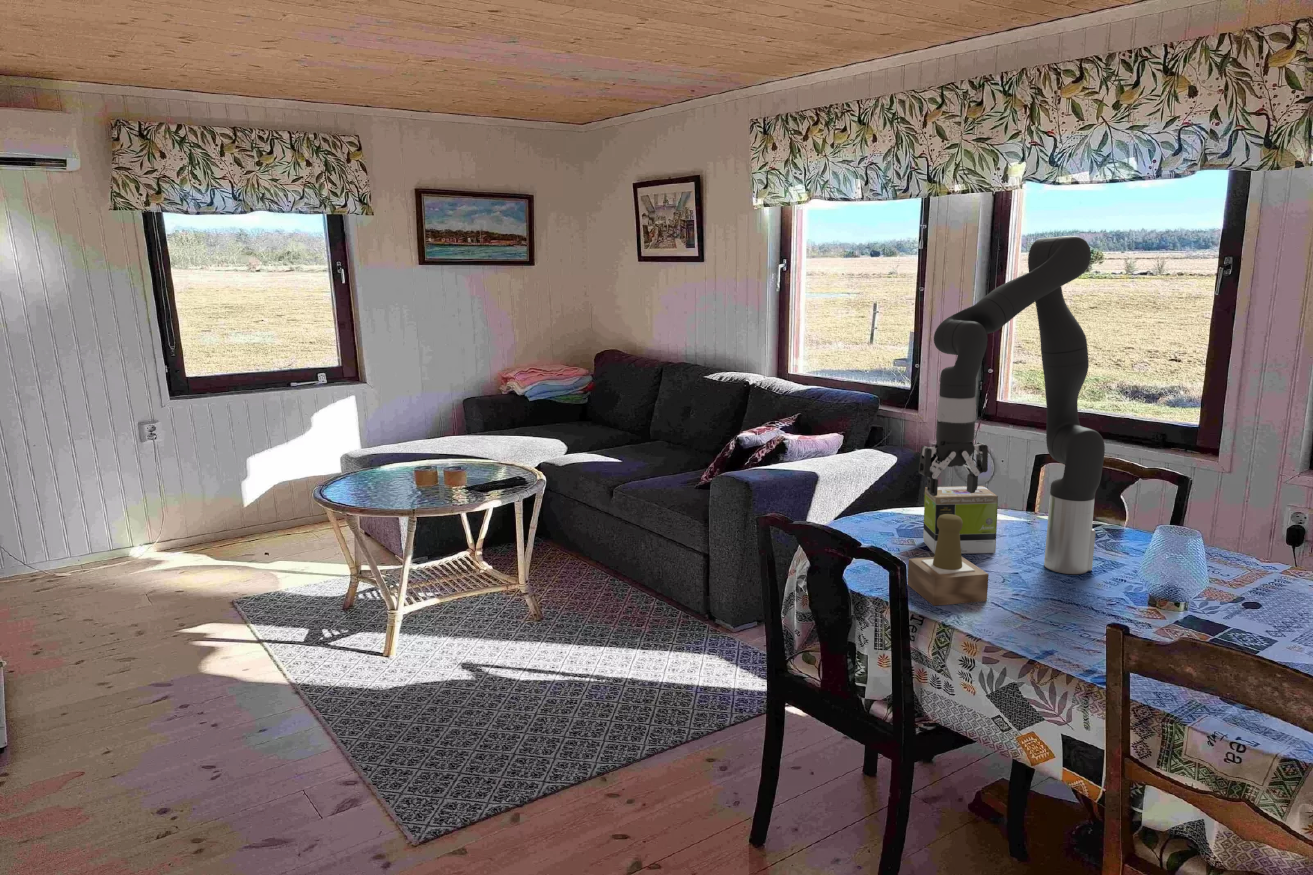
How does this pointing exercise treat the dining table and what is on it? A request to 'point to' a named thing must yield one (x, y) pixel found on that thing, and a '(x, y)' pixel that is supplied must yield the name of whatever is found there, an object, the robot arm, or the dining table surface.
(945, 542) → the cork
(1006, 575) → the dining table surface
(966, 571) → the block
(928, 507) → the tea box
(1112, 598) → the dining table surface
